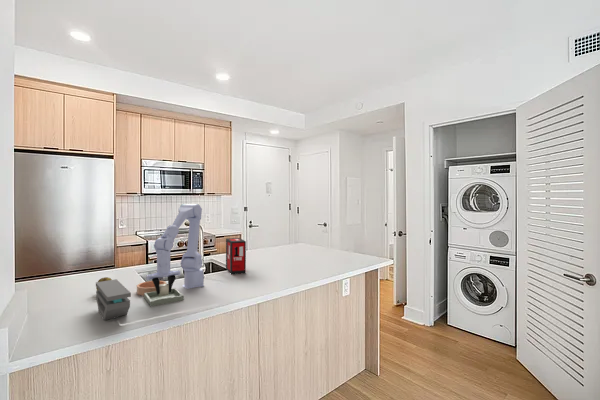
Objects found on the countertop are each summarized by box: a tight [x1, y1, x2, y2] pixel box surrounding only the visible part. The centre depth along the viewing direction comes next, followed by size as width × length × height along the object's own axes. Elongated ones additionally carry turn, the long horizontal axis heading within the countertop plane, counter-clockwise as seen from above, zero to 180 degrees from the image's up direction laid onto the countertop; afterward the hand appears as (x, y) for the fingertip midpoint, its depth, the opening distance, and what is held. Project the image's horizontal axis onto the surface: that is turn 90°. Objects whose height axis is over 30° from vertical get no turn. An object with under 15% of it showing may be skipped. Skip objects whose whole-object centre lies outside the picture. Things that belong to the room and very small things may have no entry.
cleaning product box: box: [225, 237, 247, 275], centre depth 198 cm, size 16×9×20 cm, turn 25°
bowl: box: [136, 279, 168, 297], centre depth 154 cm, size 13×13×4 cm
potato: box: [95, 276, 113, 291], centre depth 149 cm, size 8×13×8 cm, turn 26°
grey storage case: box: [95, 279, 132, 321], centre depth 126 cm, size 25×8×11 cm, turn 42°
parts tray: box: [143, 287, 185, 307], centre depth 143 cm, size 14×14×3 cm
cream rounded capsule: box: [159, 283, 169, 296], centre depth 143 cm, size 4×4×4 cm
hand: (163, 292), depth 143 cm, fingers closed on cream rounded capsule, 4 cm apart
